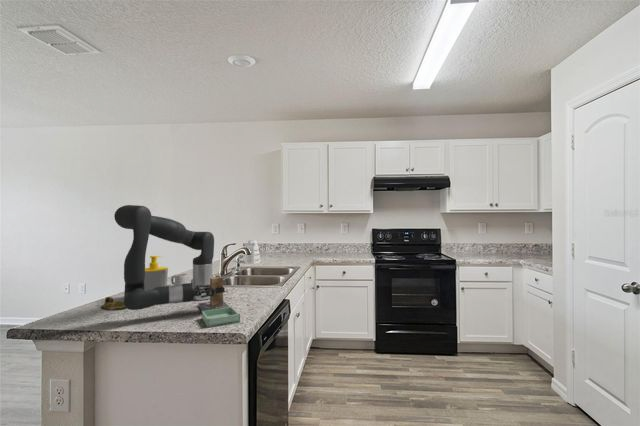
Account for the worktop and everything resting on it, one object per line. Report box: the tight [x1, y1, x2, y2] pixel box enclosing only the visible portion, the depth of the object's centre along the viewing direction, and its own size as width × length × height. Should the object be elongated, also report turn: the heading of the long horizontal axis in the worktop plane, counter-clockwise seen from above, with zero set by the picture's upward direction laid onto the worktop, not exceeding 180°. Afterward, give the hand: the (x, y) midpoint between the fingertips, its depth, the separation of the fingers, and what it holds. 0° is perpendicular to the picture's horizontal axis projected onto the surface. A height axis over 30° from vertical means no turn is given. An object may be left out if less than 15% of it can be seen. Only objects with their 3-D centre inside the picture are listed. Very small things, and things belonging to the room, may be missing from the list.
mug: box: [170, 273, 188, 285], centre depth 189 cm, size 10×7×7 cm
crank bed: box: [197, 300, 230, 312], centre depth 141 cm, size 11×16×8 cm
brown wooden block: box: [209, 275, 224, 307], centre depth 138 cm, size 4×4×12 cm
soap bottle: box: [144, 255, 169, 291], centre depth 160 cm, size 13×13×21 cm
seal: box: [101, 296, 127, 311], centre depth 144 cm, size 9×5×15 cm
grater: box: [244, 240, 262, 265], centre depth 286 cm, size 10×10×20 cm
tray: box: [201, 306, 241, 329], centre depth 124 cm, size 12×12×3 cm
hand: (222, 288), depth 139 cm, fingers closed on brown wooden block, 4 cm apart
